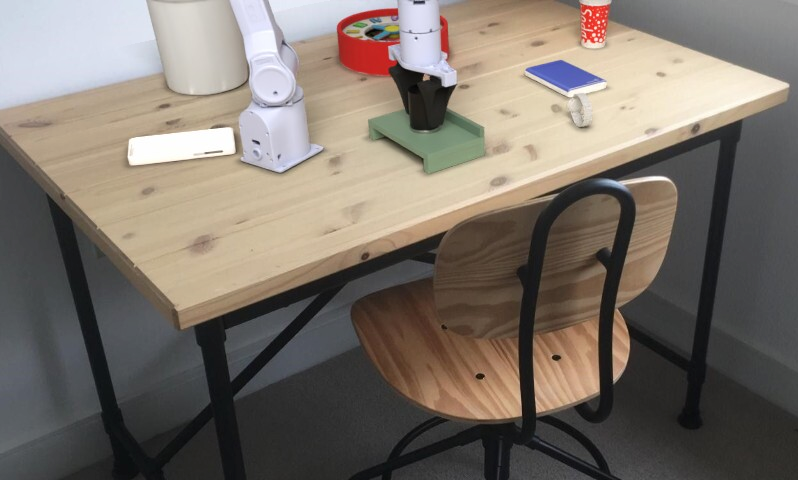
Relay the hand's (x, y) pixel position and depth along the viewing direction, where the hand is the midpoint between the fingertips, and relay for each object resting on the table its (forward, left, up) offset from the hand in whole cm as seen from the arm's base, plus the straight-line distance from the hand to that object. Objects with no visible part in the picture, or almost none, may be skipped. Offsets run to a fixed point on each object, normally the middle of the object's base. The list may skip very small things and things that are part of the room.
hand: (424, 119), depth 142 cm
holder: (0, 0, -1) cm, 1 cm away
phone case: (-20, +30, -5) cm, 36 cm away
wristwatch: (+19, -16, -5) cm, 25 cm away
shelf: (0, 0, -4) cm, 4 cm away
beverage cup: (+54, 0, -5) cm, 54 cm away
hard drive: (+34, -5, -5) cm, 35 cm away
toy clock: (+29, +28, -5) cm, 41 cm away
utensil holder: (+2, +48, -5) cm, 48 cm away
